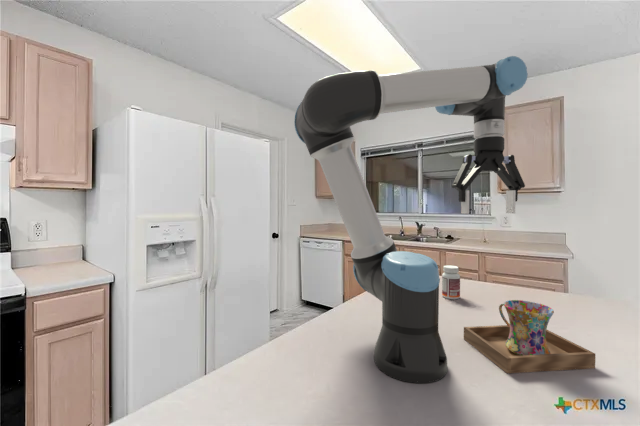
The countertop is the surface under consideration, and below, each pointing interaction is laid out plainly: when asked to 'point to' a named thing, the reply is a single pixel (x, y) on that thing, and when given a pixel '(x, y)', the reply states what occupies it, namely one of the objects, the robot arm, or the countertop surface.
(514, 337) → the mug
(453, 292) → the pill bottle
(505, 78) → the robot arm
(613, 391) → the countertop surface
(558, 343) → the tray
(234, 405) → the countertop surface
